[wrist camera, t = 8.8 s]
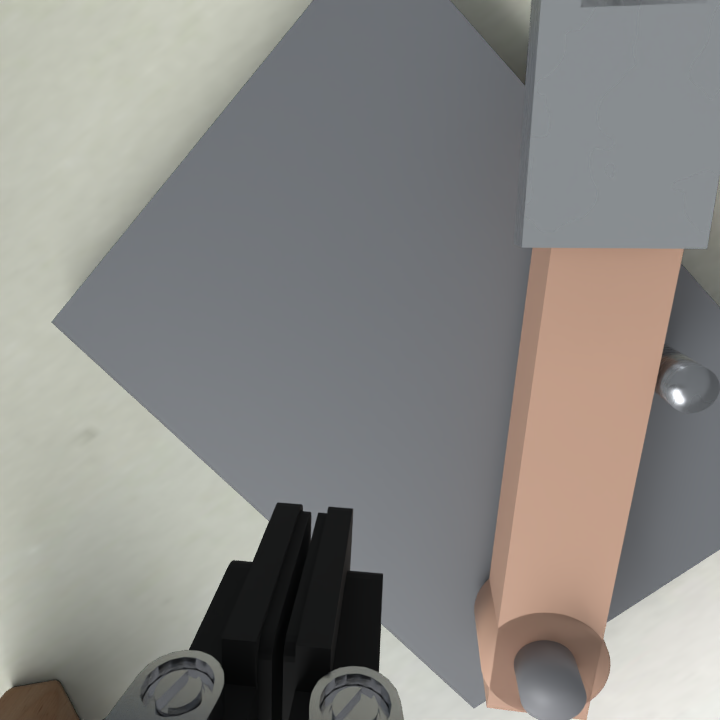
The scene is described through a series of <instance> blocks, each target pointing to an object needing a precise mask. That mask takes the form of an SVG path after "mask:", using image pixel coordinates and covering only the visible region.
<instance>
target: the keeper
mask: <svg viewBox="0 0 720 720" xmlns="http://www.w3.org/2000/svg"><path fill="white" fill-rule="evenodd" d="M719 176H720V0H531V14H530V27H529V41H528V54H527V68H526V81H525V95H524V109H523V122H522V136H521V149H520V163H519V176H518V190H517V203H516V217H515V231H514V244H515V245H518V246H520V247H522V248H649V249H707V247H708V241H709V235H710V229H711V223H712V217H713V211H714V205H715V199H716V194H717V188H718V182H719ZM719 390H720V384H719V380H718V378H717V376H716V375H715V374H714V373H713V372H712V371H711V370H709V369H707V368H706V367H704V366H702V365H701V364H699V363H697V362H696V361H694V360H692V359H691V358H689V357H687V356H685V355H684V354H682V353H680V352H679V351H677V350H675V349H674V348H672V347H670V346H669V345H667V344H665V343H664V347H663V352H662V357H661V362H660V367H659V371H658V376H657V381H656V386H655V391H654V392H656V393H657V394H658V395H659V396H660V397H662V398H663V399H664V400H665V401H666V402H668V403H669V404H670V405H671V406H672V407H674V408H675V409H676V410H678V411H680V412H684V413H697V412H700V411H703V410H705V409H707V408H708V407H710V406H711V405H712V404H713V403H714V402H715V400H716V399H717V397H718V394H719Z"/></svg>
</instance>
